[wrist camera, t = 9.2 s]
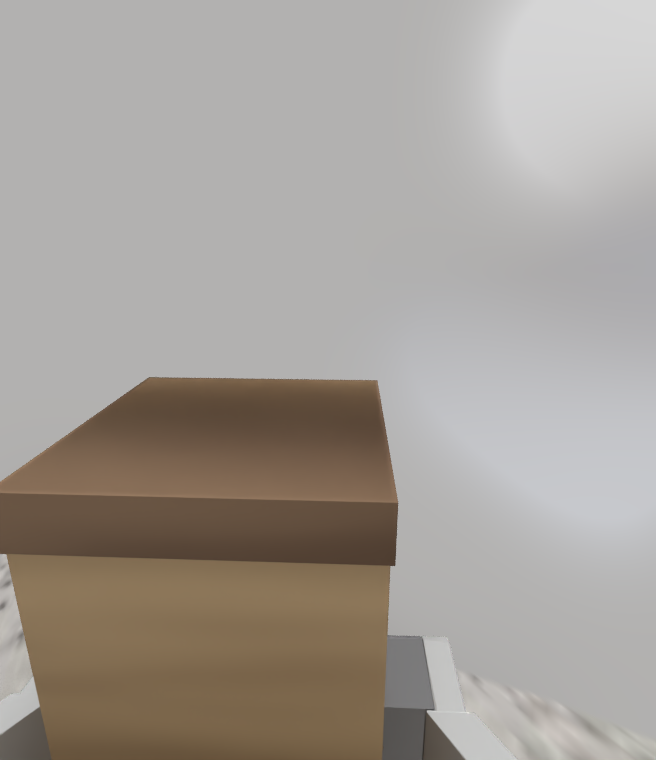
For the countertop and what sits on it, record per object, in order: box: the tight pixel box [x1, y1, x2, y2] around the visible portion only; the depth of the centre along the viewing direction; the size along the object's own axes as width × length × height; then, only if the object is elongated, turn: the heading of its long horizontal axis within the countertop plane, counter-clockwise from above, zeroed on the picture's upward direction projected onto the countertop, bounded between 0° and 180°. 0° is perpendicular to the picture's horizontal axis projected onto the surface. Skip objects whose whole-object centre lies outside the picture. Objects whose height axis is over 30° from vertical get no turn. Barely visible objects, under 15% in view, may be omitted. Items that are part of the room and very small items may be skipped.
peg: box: [0, 377, 398, 760], centre depth 9 cm, size 5×5×12 cm
